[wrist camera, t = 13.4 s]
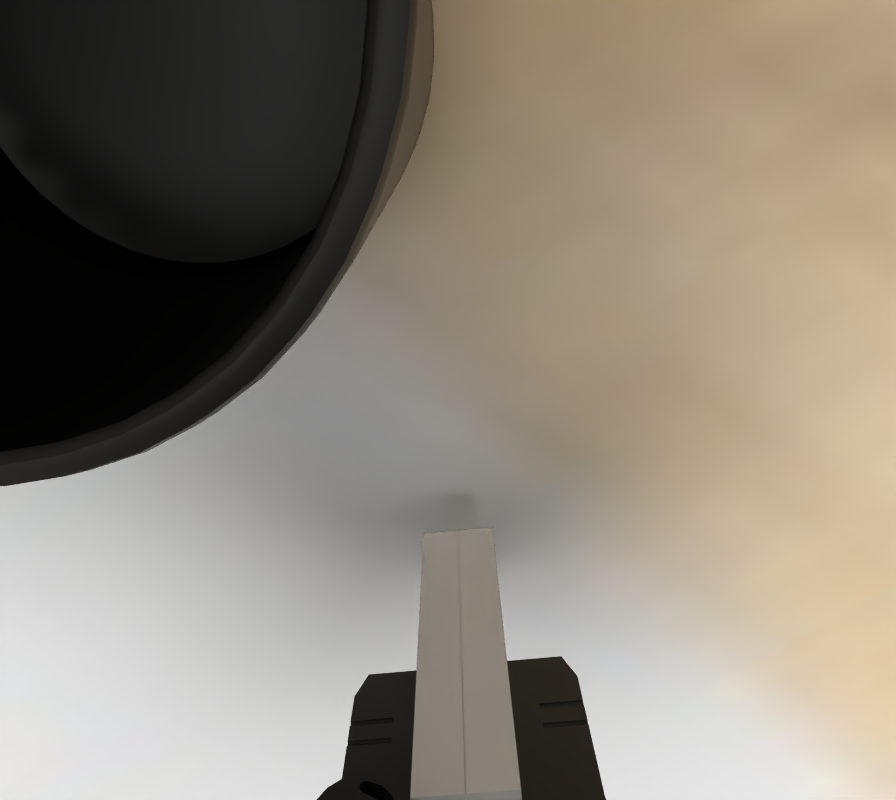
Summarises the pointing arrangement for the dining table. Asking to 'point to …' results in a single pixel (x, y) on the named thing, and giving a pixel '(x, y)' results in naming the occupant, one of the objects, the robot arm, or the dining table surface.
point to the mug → (182, 202)
